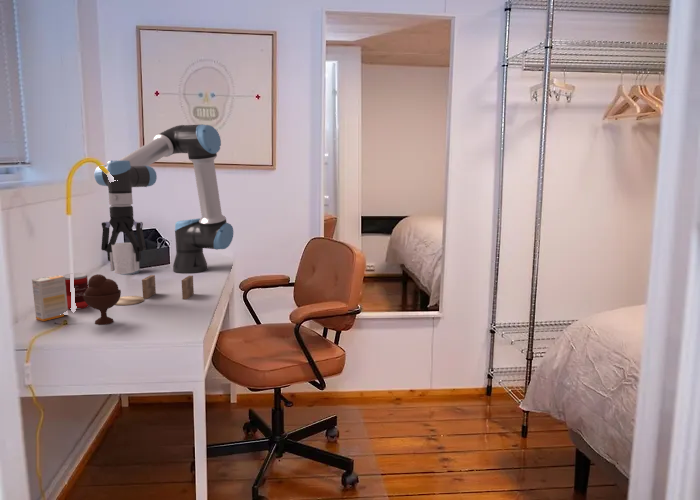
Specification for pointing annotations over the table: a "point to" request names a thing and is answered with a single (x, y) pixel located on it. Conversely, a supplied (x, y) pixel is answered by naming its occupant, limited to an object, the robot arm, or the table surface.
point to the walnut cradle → (150, 288)
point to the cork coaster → (130, 300)
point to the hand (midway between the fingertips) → (125, 270)
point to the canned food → (77, 289)
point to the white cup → (123, 258)
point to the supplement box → (49, 297)
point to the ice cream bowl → (102, 296)
